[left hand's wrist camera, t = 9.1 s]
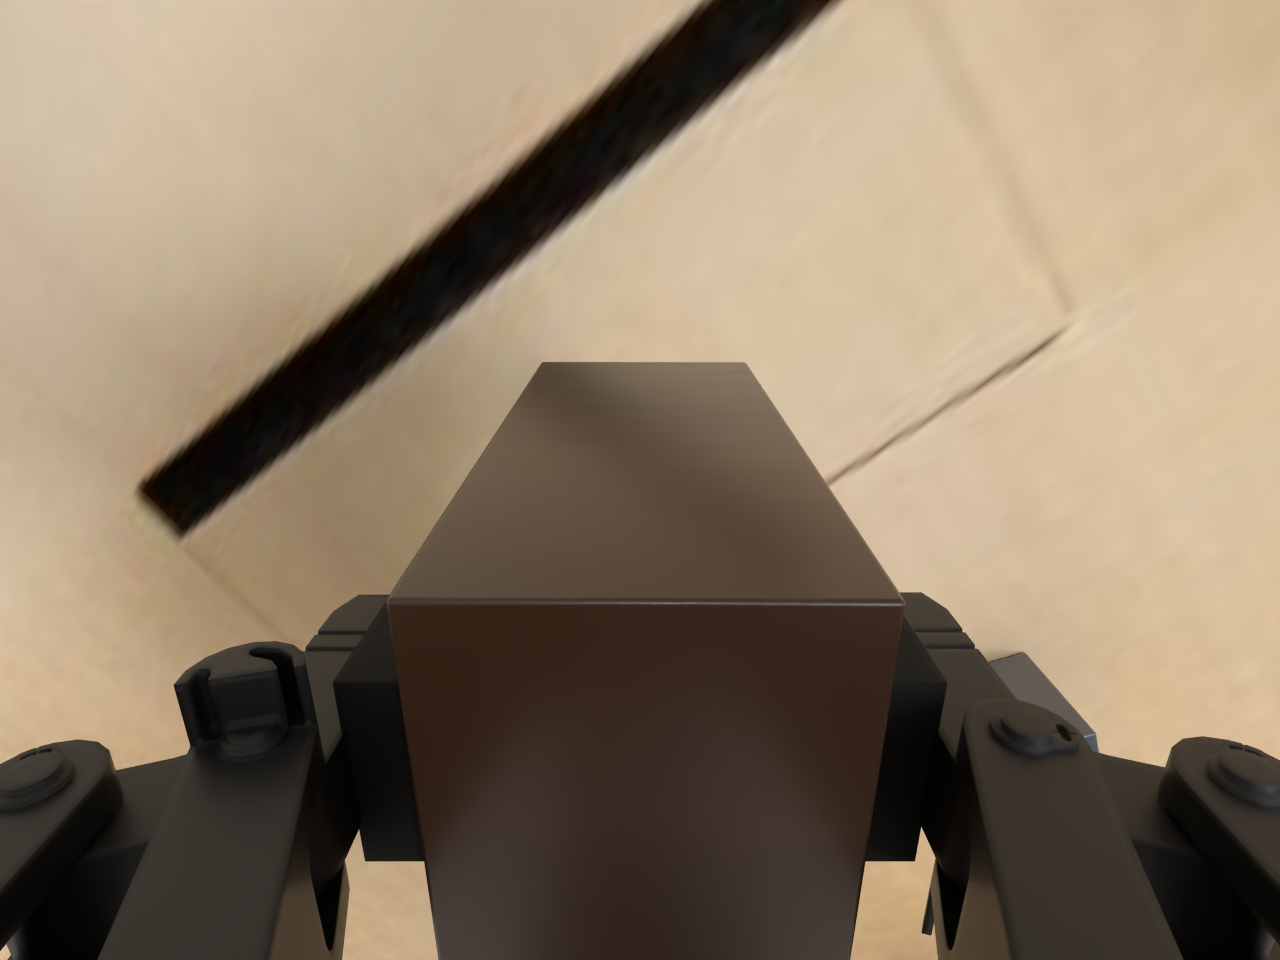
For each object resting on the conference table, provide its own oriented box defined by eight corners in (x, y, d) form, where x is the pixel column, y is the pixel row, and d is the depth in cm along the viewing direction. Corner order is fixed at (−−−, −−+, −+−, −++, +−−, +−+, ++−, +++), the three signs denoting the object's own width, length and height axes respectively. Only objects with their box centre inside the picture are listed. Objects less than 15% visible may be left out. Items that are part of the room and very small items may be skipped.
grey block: (931, 678, 30) (984, 763, 26) (1024, 651, 30) (1096, 732, 25) (949, 749, 32) (1003, 842, 27) (1039, 724, 31) (1110, 814, 26)
